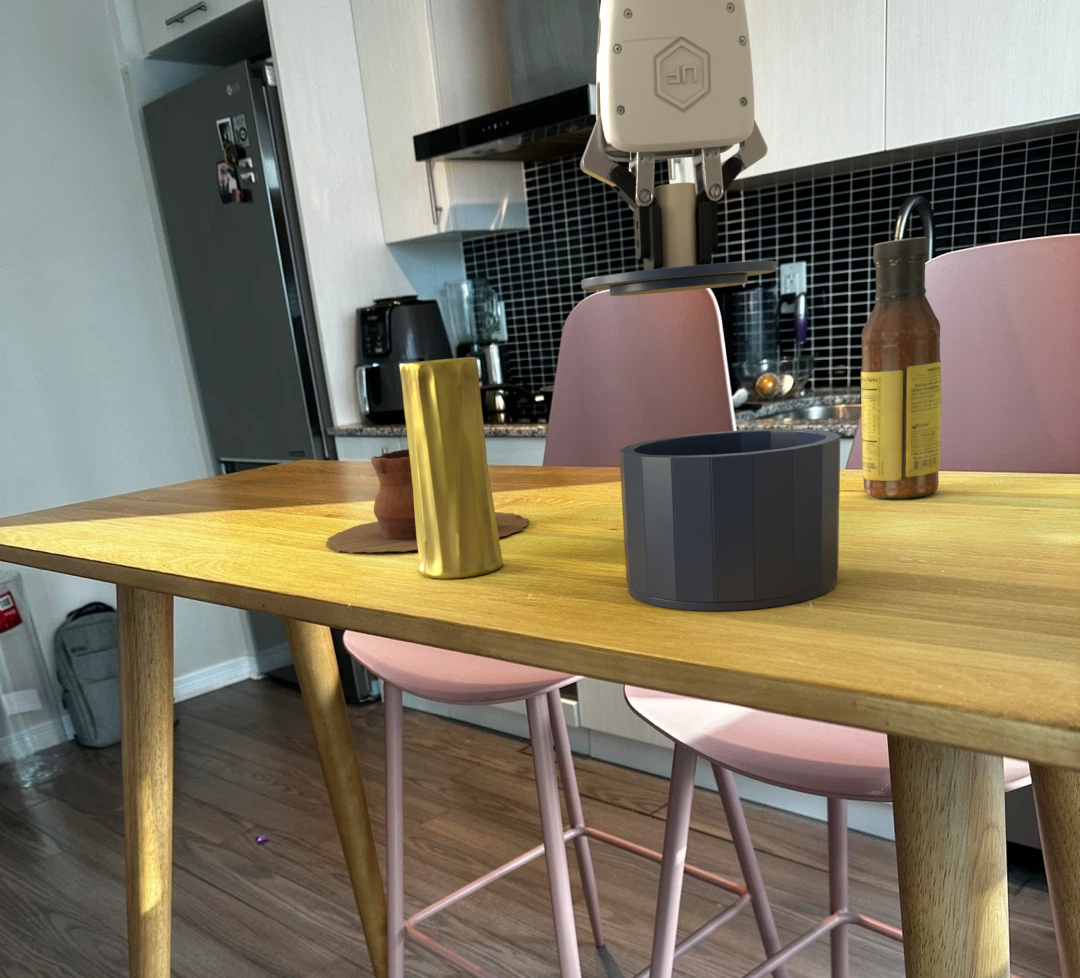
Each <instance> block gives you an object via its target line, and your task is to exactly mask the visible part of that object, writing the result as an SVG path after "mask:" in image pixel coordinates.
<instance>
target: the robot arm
mask: <svg viewBox="0 0 1080 978" xmlns="http://www.w3.org/2000/svg"><path fill="white" fill-rule="evenodd" d="M745 2H746V1H745V0H600V7H599V15H598V16H599V18H598V26H597V28H598V29H597V44H596V77H595V79H596V84H595V92H596V93H595V112H596V113H595V114H596V116H595V118H596V121H595V123H594V126H593V129H592V132H591V134H590V136H589V139H588V141H587V143H586V147H585V150H584V152H583V155H582V157H581V160H580V164H579V166H580V170H581V172H583V173H585V174H586V175H588V176H590V177H592V178H594V179H596V180H598V181H601V182H602V183H605V184H607V185H609V187H610V188H612V189H613V190H614V191H615V192H616V193H617V195H618V196H620V197H621V199H623V200H624V201H625V202H626V204H628V207H629V208H630V210H631V211H633V213H634V215H633V216H634V217H633V218H634V235H635V236H634V237H635V238H634V239H635V255H636V259H637V260H642V261H643V270H651V269H660V267H663V241H662V213H661V208H659V205H656V197H655V168H656V167H655V166H656V165H655V163H656V162H655V161H658V160H659V161H660V160H673V159H686V158H691V160H692V170H693V171H692V172H693V180H694V184H695V201H696V240H697V265H704V264H712V261H713V254H716V253H717V252H718V248H719V226H718V224H719V223H718V218H719V217H718V215H719V214H718V201H719V200H721V198H723V196H724V193H725V192H726V191H727V190H728V189H729V187H730V186H731V184H732V183H733V182H734V181H735V180H736V179H737V177H738V176H739V174H741V173H742V172H744V171H745V170H747V169H749V168H750V167H752V166H753V165H754V164H756V163H757V162H759V161H761V160H762V159H763V158H765V157H766V156H767V153H768V145H767V143H766V141H765V139H764V137H763V134H762V132H761V130H760V127H759V126H758V124H757V121H756V119H755V90H754V89H755V88H754V75H753V74H754V73H753V64H752V52H751V41H750V32H749V23H748V17H747V15H748V14H747V9H746V3H745ZM735 145H739V146H738V150H737V151H736V152H735V153H734V154H733V155H731V156H730V157H729V158H727V159H725V160H724V161H722V160H721V159H722V158H721V154H724V153H726V152H727V151H729V150H730V149H731V148H733V147H734V146H735ZM616 162H622V163H625V162H626V163H627V162H628V167H626V166H625V165H622V164H618V163H616Z"/></svg>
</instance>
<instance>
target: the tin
mask: <svg viewBox="0 0 1080 978" xmlns="http://www.w3.org/2000/svg"><path fill="white" fill-rule="evenodd" d="M618 453H619V454H618V455H619V457H618V458H619V471H620V489H621V490H620V491H621V508H622V526H623V544H624V563H625V578H626V583H627V589H628V590H627V591H628V593H629V595H630V596H631V597H632V598H633V599H635V600H637V601H639V602H642V603H645V604H647V605H651V606H655V607H660V608H666V609H673V610H674V609H675V610H684V611H699V612H731V611H748V610H749V611H751V610H760V609H768V608H776V607H782V606H786V605H792V604H797V603H801V602H805V601H808V600H811V599H812V600H813V599H815V598H817V597H821V596H823V595H825V594H828V593H829V592H830V591H832V590H833V589H834V588H835V587H836V585H837V584H838V572H839V551H840V549H839V547H840V545H839V544H840V540H839V539H840V495H841V493H840V492H841V491H840V489H841V488H840V486H841V483H840V482H841V434H840V433H837V432H833V431H829V430H823V429H821V430H820V429H808V428H804V429H803V428H800V429H799V428H768V429H767V428H766V429H765V428H764V429H743V430H728V431H727V430H726V431H715V432H714V431H713V432H704V433H695V434H685V435H676V436H670V437H663V438H656V439H650V440H646V441H645V440H644V441H641V442H637V443H632V444H629V445H626V446H625V447H623V448H621V449H620V450H619V451H618Z"/></svg>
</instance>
